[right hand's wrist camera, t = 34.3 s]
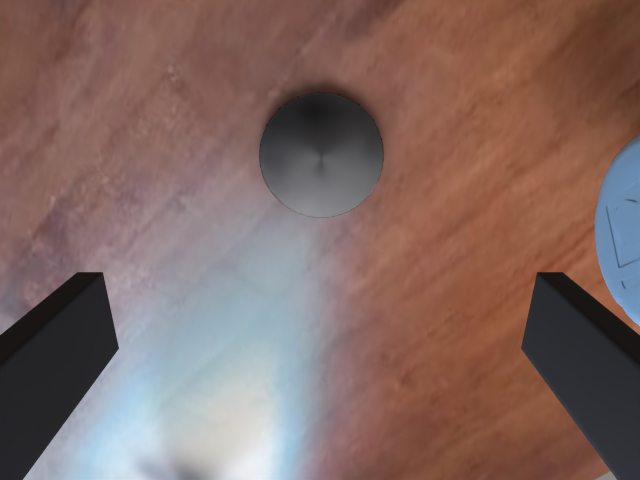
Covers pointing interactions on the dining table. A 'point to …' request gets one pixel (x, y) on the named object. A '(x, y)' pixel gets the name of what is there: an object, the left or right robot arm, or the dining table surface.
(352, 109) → the lid
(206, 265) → the dining table surface
